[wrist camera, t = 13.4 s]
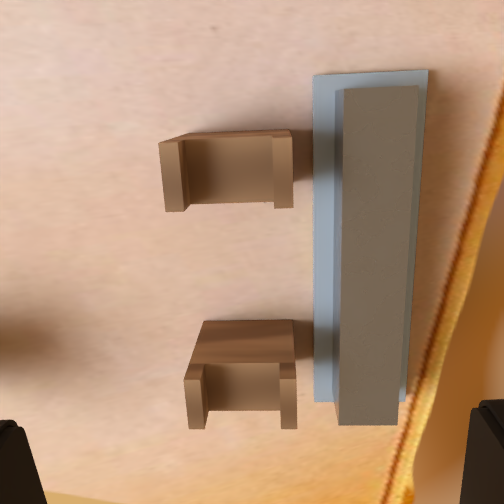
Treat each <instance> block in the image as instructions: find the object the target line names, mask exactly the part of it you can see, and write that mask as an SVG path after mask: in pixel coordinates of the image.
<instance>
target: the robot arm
mask: <svg viewBox="0 0 504 504" xmlns="http://www.w3.org/2000/svg"><path fill="white" fill-rule="evenodd" d="M0 504H47V501H46V498H45V495H44V491H43V488H42V485H41V482H40V479H39V475H38V472H37V469H36V466H35V462H34V459H33V456H32V453H31V449H30V446H29V443H28V440H27V436H26V433H25V431H24V429H23V428H22V427H18V425H17V423H16V422H15V421H14V420H0ZM460 504H504V399H497V400H482V401H481V402H480V404H479V407H478V408H473V409H472V410H471V414H470V422H469V430H468V438H467V448H466V455H465V464H464V471H463V480H462V488H461V495H460Z"/></svg>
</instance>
